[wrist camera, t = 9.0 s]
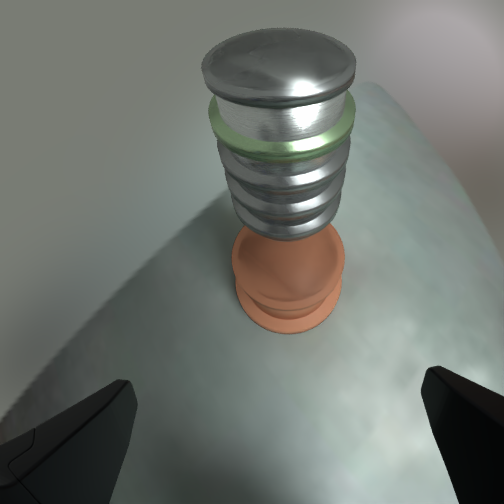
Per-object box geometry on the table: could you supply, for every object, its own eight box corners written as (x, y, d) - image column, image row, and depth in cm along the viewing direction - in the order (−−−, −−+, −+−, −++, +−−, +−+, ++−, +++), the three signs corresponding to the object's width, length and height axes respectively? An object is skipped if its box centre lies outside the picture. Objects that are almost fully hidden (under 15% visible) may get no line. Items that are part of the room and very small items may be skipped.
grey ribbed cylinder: (346, 245, 13) (384, 97, 6) (235, 253, 13) (186, 110, 7) (328, 162, 15) (338, 25, 8) (235, 169, 16) (203, 34, 9)
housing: (345, 329, 21) (360, 308, 17) (238, 337, 22) (224, 319, 17) (332, 234, 25) (340, 196, 20) (237, 242, 25) (225, 205, 21)
